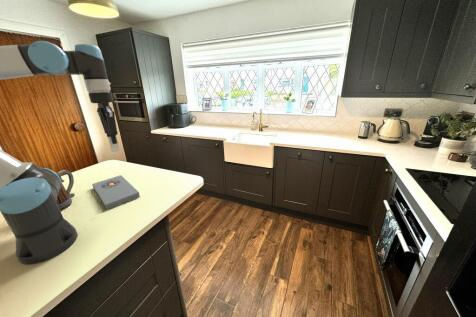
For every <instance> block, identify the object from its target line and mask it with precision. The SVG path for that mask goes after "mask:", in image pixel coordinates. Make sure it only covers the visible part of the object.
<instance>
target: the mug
mask: <svg viewBox="0 0 476 317" xmlns="http://www.w3.org/2000/svg"><path fill="white" fill-rule="evenodd" d="M56 174H57V175H58V176H59V178H60V181H61V188H60V191H59V193H58V197H57V200H56V201H57V204H58V206H59V209H60V211H61V212H62V211H64V210H65V209H67V208H68V207H70V206H71V205H72V202H73V200H72V198H74V197H75V196H76V195H75V192H71V191H72V190H73V187H74V183H75V180H74V179H75V178H74V175H73V174H72V172H71V171H70V170H65V169H63V170H60V171H58V172H56ZM63 174H66V176H68V181H69V182H68V185H67V188H65V186H64V184H63V183H65V179H63V178H62V175H63Z"/></svg>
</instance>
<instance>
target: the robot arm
mask: <svg viewBox="0 0 476 317" xmlns="http://www.w3.org/2000/svg"><path fill="white" fill-rule="evenodd" d="M73 75H74V76H75V75H77V76H80V75H81V76H82V78H83V81H84V85H85V88H86V91H87V92H88V98H89V101H90V103H91V104H97V109H96V113H97V115H98V116H99V119H100V122H101V126H102V128H103V130H104V134H106V137H107V139H108V142H109V147H110V149H111V152H112V153H115V152H118V151H121V149H120V145H119V141H118V138H117V135H119V134H118V128H117V122H116V118H115V117H116V116H115V114H116V113H115V111H114V110H113V108H112V107H111V105H110V103H114V101H115V100H114V96H113V92H112V91H111V89H112V88H111V86H110V85H112V83H111V82H110V81H109V78H108V73H107V68H106V65H105V60H104V57H103V53H102V50H101V49H100V47H99V46H97V45H94V44H88V43H83V44H82V43H77V44H75V45H74V50H63V49H62V48H60V46H58V45H56V44H54V43H53V42H52V43H51V42H50V41H46V40H38V41H37V40H36V41H34V42H32V43H25V44H11V45H10V44H9V45H0V81H1V80H9V79H18V78H26V77H33V76H73ZM60 188H61V181H60V178H59V176H58V175H57V172H56V171H53V170H52V169H49V168H45V167H40V166H38V164H37V165H36V163H33V162H31V161H30V162H24V161H23V162H22V161H21V160H19V159H17V158H15V157H13V156H12V155H11V154H9V153H7V152H6V151H4V150H3V149H1V148H0V213H1V215H2V217H3V218H4V220H5V222H6V223H7V225H8V227H9V229H10V230H11V232H12V233H13V235H14V237H15V256H16V258H17V260H18V262H19V263H21V264H22V265H32V264H34V265H35V264H38V263H42V262H45V261H48V260H49V259H52V258H54V257H56V256H58V255H60V254H61V253H63V252H64V251H66V250H68V249H69V248H70V247H71V246H72V245H73V244H74V243H75V242H76V241H77V238H78V237H79V236H78V231H77V229H76V227H74V225H73V224H71V223H70V222H69V221H68V220H67V219H66V218H64V216H63V214H62V210H61V211H60V209H59V206H58V204H57V201H56V200H57V197H58V193H59V191H60Z"/></svg>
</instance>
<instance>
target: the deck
mask: <svg viewBox="0 0 476 317" xmlns="http://www.w3.org/2000/svg"><path fill="white" fill-rule="evenodd" d="M110 183H114V185H112V186H108V185H109V184H110ZM91 185H92V188H93V190H94V192H95V193H96V195H97V196H98V198H99V199H100V201H101V203H102V205H103V206H104V207H105V209H106V210H107V211H108V210H110V209H112V208H115V207H117V206H120V205H123V204H125V203H128V202H130V201H132V200H135V199H138V198H141V196H140V195H141V194H140V192H139V191H138V190H137V189H136V188H135V187H134V186H133V184H131V183H130V182H129V181H128V180H127V179H126V178H125V177H124V176H123V175H118V176H117V175H116V176H114V177H111V178H107V179H103V180H101V181H100V180H99V181H97V182H94V183H92V184H91Z"/></svg>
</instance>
